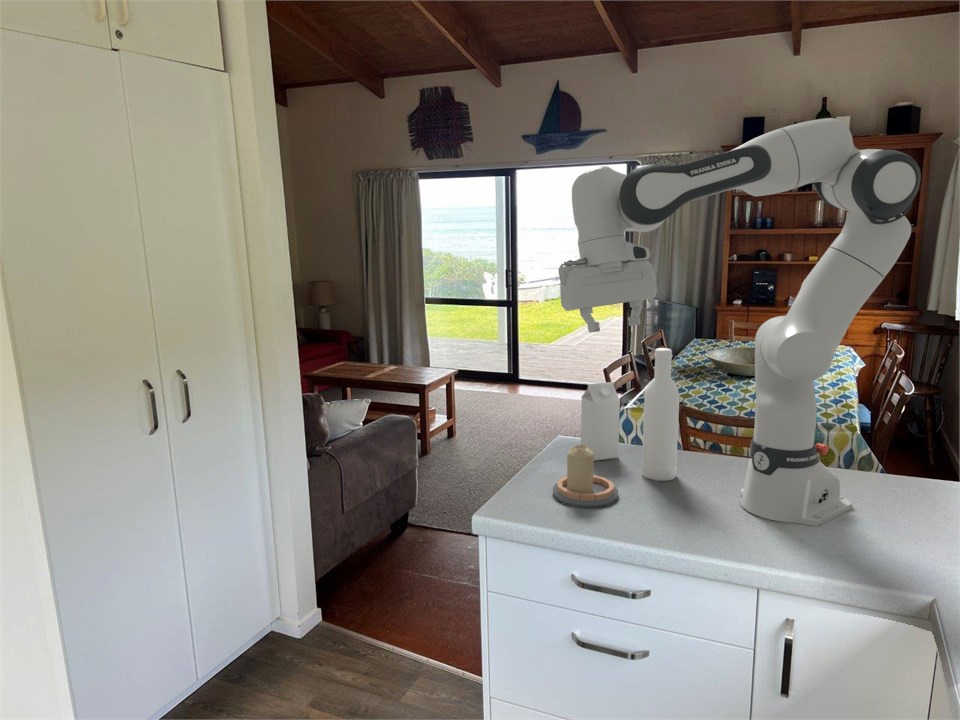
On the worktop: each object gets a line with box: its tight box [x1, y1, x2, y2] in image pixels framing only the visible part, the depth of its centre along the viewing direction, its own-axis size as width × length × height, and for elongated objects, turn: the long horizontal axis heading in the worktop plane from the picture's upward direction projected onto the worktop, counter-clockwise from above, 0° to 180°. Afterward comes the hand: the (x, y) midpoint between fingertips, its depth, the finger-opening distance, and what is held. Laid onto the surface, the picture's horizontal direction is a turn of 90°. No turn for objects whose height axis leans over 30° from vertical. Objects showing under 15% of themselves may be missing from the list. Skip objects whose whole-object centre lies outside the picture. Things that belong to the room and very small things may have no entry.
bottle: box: [641, 347, 680, 482], centre depth 153 cm, size 8×8×30 cm
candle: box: [566, 444, 594, 493], centre depth 143 cm, size 6×6×10 cm
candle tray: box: [552, 474, 619, 509], centre depth 144 cm, size 14×14×2 cm
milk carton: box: [580, 381, 621, 462], centre depth 168 cm, size 7×7×19 cm
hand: (614, 328), depth 125 cm, fingers open, 8 cm apart
